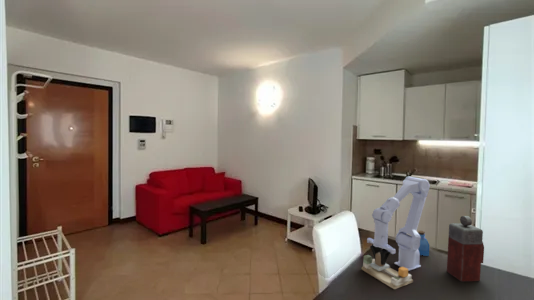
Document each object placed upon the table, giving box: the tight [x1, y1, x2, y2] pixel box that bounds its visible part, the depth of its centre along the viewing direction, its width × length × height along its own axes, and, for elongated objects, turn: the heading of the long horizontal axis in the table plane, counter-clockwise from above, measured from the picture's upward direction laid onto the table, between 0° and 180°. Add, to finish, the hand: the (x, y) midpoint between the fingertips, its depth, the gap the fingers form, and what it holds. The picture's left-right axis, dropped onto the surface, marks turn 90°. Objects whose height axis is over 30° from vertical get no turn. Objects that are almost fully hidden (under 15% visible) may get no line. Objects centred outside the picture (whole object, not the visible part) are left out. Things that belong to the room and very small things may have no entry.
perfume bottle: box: [417, 230, 430, 257], centre depth 145 cm, size 6×6×12 cm
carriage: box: [370, 252, 391, 271], centre depth 124 cm, size 7×5×6 cm
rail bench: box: [361, 254, 414, 290], centre depth 121 cm, size 12×18×6 cm, turn 27°
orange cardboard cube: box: [397, 267, 409, 277], centre depth 115 cm, size 3×2×3 cm
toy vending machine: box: [446, 215, 485, 282], centre depth 121 cm, size 9×11×28 cm
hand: (380, 262), depth 124 cm, fingers closed on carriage, 3 cm apart
